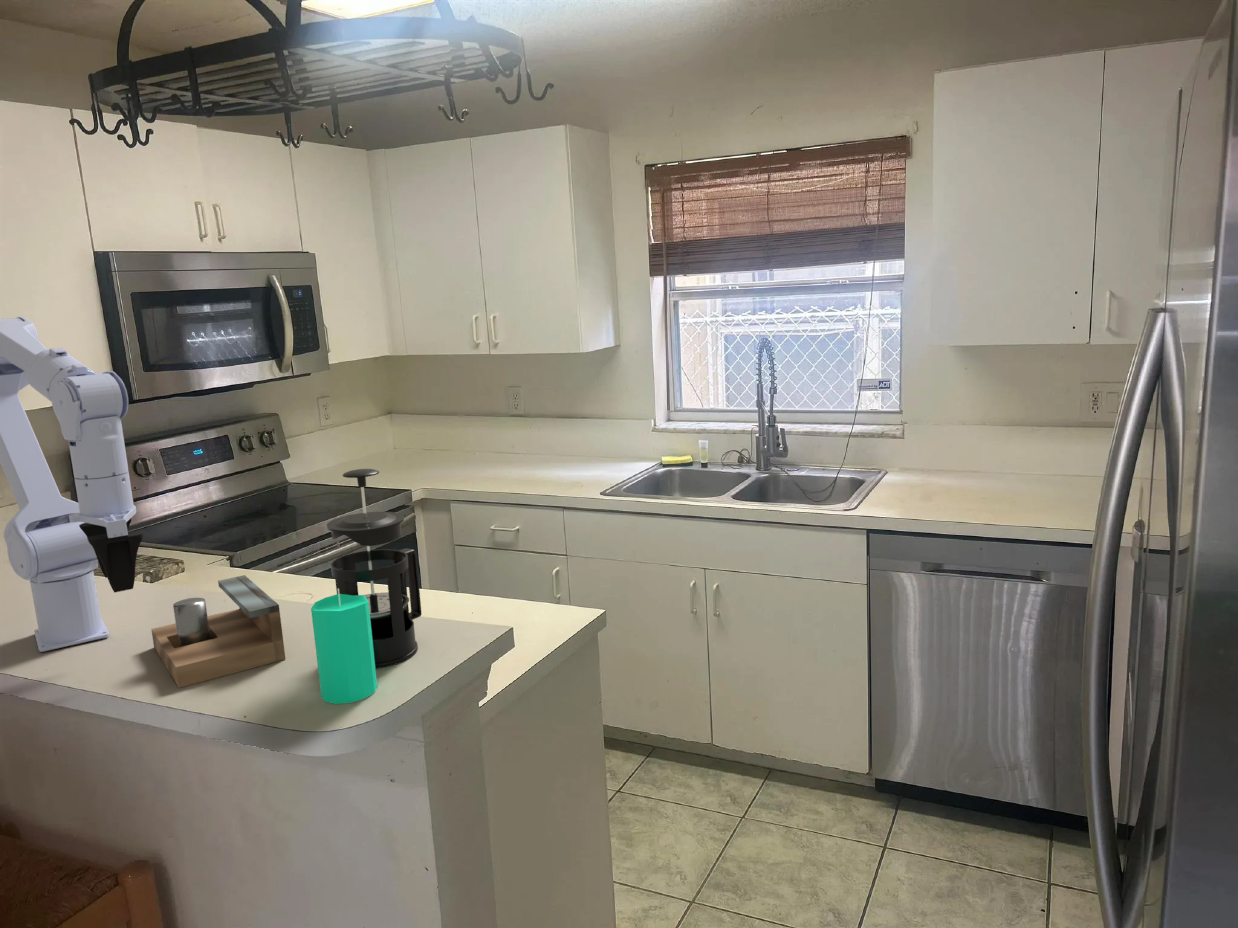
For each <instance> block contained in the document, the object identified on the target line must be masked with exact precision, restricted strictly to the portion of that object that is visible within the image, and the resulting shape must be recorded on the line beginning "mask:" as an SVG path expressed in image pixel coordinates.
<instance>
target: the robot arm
mask: <svg viewBox="0 0 1238 928" xmlns="http://www.w3.org/2000/svg"><path fill="white" fill-rule="evenodd" d="M28 385H29V386H30V387H31V388H33V389H34V390H35V391H36V392H38V393H39V394H41V395H42V396H43V397H44V398H46V399H47V400H48V401H50V402H51V407H52V409H53V412H54V414H55V417H56V419H57V421H58V422H59V426H60V431H61V436H63V440H66V441H68V446H69V453H70V459H71V464H72V465H71V466H72V471H73V477H74V478H73V479H74V485H75V489H76V497H77V502H76V501H74V500H72V499H68V498H67V497H65V496H64V497H63V496H62V494H61V493H60V491H59V487H58V485H57V483H56V480H55V478H54V476H53V474H52V472H51V469H50V467H49V464H48V462H47V460H46V457H45V455H44V453H43V451H42V448H41V445H40V444H39V441H38V438H37V436H36V434H35V432H34V429H33V427H32V424H31V422H30V420H29V417H28V415H27V413H26V410H25V409H24V405H23V404H22V401H21V399H20V396H19V392H20V390H23V389H24V388H25V387H27V386H28ZM125 385H126V384H125V383H124V382H123V379H122V378H121V377H120V376H119V375H118V374H117V373H116V372H115V371H112V370H111V371H110V370H109V371H104V372H98V373H97V372H96V371H94V370H92V369H91V368H89V367H88V366H86V365H85V364H84V363H83V362H81V361H79V360H78V359H76V358H75V357H73V356H72V355H71V354H70V353H68V351H67V350H66V349H65V348H63V347H54V348H47V347H46V346H45V345H44V344H42V342H40V338H39V334H38V331H37V328H36V326H35V323H33V322H32V321H31V320H29V319H28V318H27V317H26V316H17V317H15V318H0V465H1V469H2V471H3V473H4V475H5V477H6V480H7V482H8V485H9V487H10V489H11V492H12V494H13V497H14V499H15V502H16V503H17V504H16V505H17V506H18V508H19V510H18V511H17V512H16V513H15V514H14V515H13V516H12V517H11V518H10V520H9V521H8V522H7V524H6V525H5V528H4V531H3V538H4V541H5V544H6V548H7V557H8V561H9V564H10V566H11V568H12V570H13V571H14V573H15V574H16V575H17V576H18V577H20V578H21V579H23V580H25V581H29V584H30V588H31V595H32V600H33V601H32V602H33V605H34V611H35V617H36V622H37V628H35V629H34V630H33V633H34V636H35V639H36V644H37V647H38V652H40V653H42V652H48V651H51V650H56V649H60V648H65V647H68V646H69V647H70V646H74V645H79V644H83V643H87V642H92V641H96V640H101V639H105V638H108V637H109V636H110V632H109V630H108V628H107V625H106V624H105V622H104V619H103V618H102V615H101V610H100V609H101V608H100V603H99V597H98V592H97V586H96V579H95V572H94V570H96V569H98V568H99V567H100V570H101V572H102V574H103V576H104V577H105V579H106V578H107V580H108V583H109V585H110V587H111V590H112V591H113V593H119V592H125V591H129V590H134V585H135V580H136V579H135V578H136V561H137V556H138V551H139V548H140V545H141V543H142V541H143V538H144V532H143V531H142V530H136V531H130V532H128V531H129V528H130V526H131V525H130V524H131V522H132V518H133V517H134V516H135V515H136V514H137V507H136V505H134V504H135V503H134V499H133V492H132V485H131V479H130V473H129V465H128V459H127V451H126V445H125V436H124V432H123V431H124V430H123V425H122V420H123V419H124V418H125V417H126V415H127V414H128V410H129V396H128V390H127V388H126V386H125Z"/></svg>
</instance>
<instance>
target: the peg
mask: <svg viewBox="0 0 1238 928" xmlns="http://www.w3.org/2000/svg"><path fill="white" fill-rule="evenodd" d="M172 606H173V607H172V608H173V614H174V621H175V623H176V629H177V636H178V643H179V647H182V646H186V645H190V644H195V643H199V642H203V641H207V640H211V639H210V632H209V624H208V617H207V616H208V610H207V604H206V599H205V598H203V597H191V598H190V597H189V598H185V599H181V600H179V601H177V602H174V603H173V604H172Z"/></svg>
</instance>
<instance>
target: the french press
mask: <svg viewBox="0 0 1238 928" xmlns="http://www.w3.org/2000/svg"><path fill="white" fill-rule="evenodd" d="M379 474H380V471H379V470H378V469H373V468H358V469H352V470H349V471H346V472H344V473H343V474H342V477H343V478H347V479H349V478H350V479H351V478H352V479H354V478H355V479H356V480H357V486H358V488H360V492H361V493H360V494H361V502H362V512H360V513H359V512H358V513H353V514H348V515H344V516H340V517H337V518H334V519H332V520H330V521H329V522H327V523H326V529H327V530H328V531H330V532H331V533H330V535H331V538H332V540H336V539H338V538H340V537H342V536H346V537H347V538H349V539H351V540H352V541H353V542H355V543H357V544H358V545H360V546H364V547H366V550H362V551H361V550H360V551H357V552H352V553H349V554H345V555H343V556H342V555H341V556H340V557H337V558H336V559H334V560H333V561H332V562H331V563H330V569H331V576H332V578H333V579H335V589H336V590H335V591H336V594H338V589H339V594H345V595H353V596H354V595H359V588H358V587H359V586H358V583H363V582H366V583H367V582H370V591H371V593H369V594H363V595H364V596H365V597H366V599H367V600H368V602H369V611H370V621H371V631H372V640H373V650H374V660H375V669H379V668H387V667H390V666H393V665H394V666H395V665H398V664H400V663H403V662H405V661H407V660H409V659H410V658H412V657H413V656H414V655H416V653H417V652H418V649H419V645H418V642H417V641H416V633H415V622H414V620H415V619H417V618H421V616H422V604H421V603H422V602H421V591H420V583H419V582H420V581H419V571H418V558H417V551H416V550H415V549H411V548H408V547H407V548H406V547H405V548H402V549H399V550H398V549H390V548H388V549H387V548H386V549H383V548H382V549H371V547H373V546H379V545H385V544H387V543H391V542H394V541H396V540H398V539H399V538H401V537H402V532H403V531H402V524H403V522H404V521H405V517H404V516H405V515H404V514H401V513H399V512H393V511H368V512H367V506H366V505H367V503H366V496H365V488H366V487H367V479H366V478H367V477H372V476H375V475H379ZM383 560H386V561H387V560H388V561H394V564H392V565H389V566H388V565H387V566H385V567H381V568H373V565H372V564H373V563H372V561H383ZM363 562H368V563H367V564H368V569H366V570H365V569H364V570H357V569H356V564H358V563H363ZM406 571H407V574H406ZM406 575H407V576H406ZM385 579H387V580H386V582H387V589H388V590H387V591H388V592H375V585H374V581H380V580H385ZM407 581H408V586H407ZM408 590H409V592H408ZM408 593H409V596H408ZM409 603H410V608H409Z"/></svg>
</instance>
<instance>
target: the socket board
mask: <svg viewBox="0 0 1238 928" xmlns="http://www.w3.org/2000/svg"><path fill="white" fill-rule="evenodd" d="M217 581H218V582H217V583H218V584H217V585H218V587H219V589H220V590H222V592H224V593H225V594H226V595H227V596H228V597H229V598H230V599H231V600H232V602H234V603H235V605H237V606H238V609H237V608H236V609H232V610H229V611H225V612H219V613H217V614H211V615H207V617H208V624H209V632H210V639H211V640H207V641H203V642H199V643H195V644H190V645H186V646H182V647H179V643H178V636H177V629H176V622H175V623H172V624H167V625H163V626H158V627H154V628H151V636H152V643H153V648H154V650H155V651H156V653H157V655H158V656H159V658H160V660H161V661H162V662H163V664H164V666H165V667H166V669H167V671H168V672H169V674H170V676H171V677H172V680H173V681H174V683H175V684H176V686H177V687H178V688H182V687H183V688H184V687H186V686H191V685H194V684H198V683H202V682H206V681H209V680H213V679H216V678H220V677H224V676H228V675H232V674H236V673H239V672H243V671H247V670H251V669H255V668H259V667H262V666H265V665H269V664H272V663H273V664H274V663H277V662H281V661H284V660H286V652H285V645H284V644H285V643H284V636H283V629H282V628H283V627H282V618H281V611H280V604H278V602H276V601H275V600H274V599H273V598H271V596H270V595H268V594H267V593H266V592H265V591H264V590H262V589H261V588H260V587H259V586H258V585H257V584H256V583H255V582H254V581H253V580H251V578H249V577H247V576H246V574H244V575H238V576H233V577H229V578H225V579H220V580H217Z"/></svg>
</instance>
